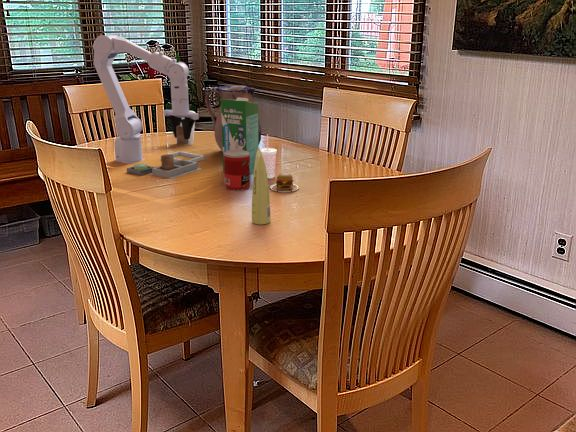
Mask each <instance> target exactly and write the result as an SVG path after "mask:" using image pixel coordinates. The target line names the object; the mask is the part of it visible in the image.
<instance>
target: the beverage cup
mask: <svg viewBox="0 0 576 432" xmlns="http://www.w3.org/2000/svg"><path fill="white" fill-rule="evenodd" d="M260 150H261V152H262V156H263V158H264V162H265V166H266V171H267V177H268V178H269V179H274V178H275V175H276V163H277V162H276V159H277V151H278V149H276V148H273V147H272V148H271V147H269V134H266V147H263V148H260ZM273 177H274V178H273Z"/></svg>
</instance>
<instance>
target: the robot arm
mask: <svg viewBox="0 0 576 432" xmlns="http://www.w3.org/2000/svg"><path fill="white" fill-rule="evenodd" d="M92 48H93V66H94V69H95V70H96V74H97V76H98V77H99V79H100V82H101V85H102V87H103V89H104V91H105V93H106V96H107V97H108V100H109V102H110V105H111V106H112V109H113V111H114V114H115V116H114V119H113V120H114V124H115V132H116V134H117V136H118V137H116V138H115V140H114V143H113V145H114V146H113V147H114V155H115V159H114V160H113V161H114V162H118V163H123V164H127V165H130V164H131V165H132V164H136V163H138V162H142V161H144V160H145V161H146V158H143V146H142V135H141V132H142V131H143V127H144V126H143V122H142V120H141V119H140V118H139V117H138V116H137V114H136V112H135V111H134V110H133V109H131V107H130V106H129V105H130V104H129V103H128V100H127V98H126V96H125V94H124V91H123V89H122V87H121V85H120V82H119V79H118V76H117V75H116V73H115V70H114V67H113V62H114V60H115V58H116V57H117V56H118V55H119V54H120V53H127V54H129V55H131V56H133V57H135V58H138V59H140V60H142V61H144V62H147V64H148V66H149V68H152V69H153V70H155V71H157V72H159V73H161V74H163V75H165V76H167V77H168V79H169V80H170V97H171V109H163V111H162V112H163V117H167V118H166V122H167V123H168V124H169V126H170V128H171V130H172V134H173V136H174V138H175V139H176V138H177V134H176V126H179V125H180V124H182V127H183V132H184V139H190V134H191V130H192V127H193V125H194V123H195V124H196V120H200V115H199V113H198V112H197V113H196V112H195V111H194V112H195V113H194V112H190V111H191V110H190V104H189V103H190V102H189V86H188V76H189V74H190V68H189V67H188V65H187V64H186V63H185V62H184V61H178V62H177V59H175V58H170V57H169V56H167V55H165V54H164V52H163V51H154V52H151V51H149V50H148V49H145V48H143V47H142V46H139V44H136V43H134V42H133V41H130V40H129V39H127V38H126V37H123V36H119V35H118V34H115V33H112V34H107V35H103V34H101V35H98V36H97V37H96V38H95V40H94V42H93V44H92ZM182 118H185V119H182Z"/></svg>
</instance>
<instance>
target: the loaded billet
mask: <svg viewBox="0 0 576 432" xmlns="http://www.w3.org/2000/svg"><path fill="white" fill-rule="evenodd" d="M174 158H175V157H174V156H173V155H171V153H168V154H166V153H165V154H161V155H160V161H161V163H160V164H161V166H162V170H166V171H169V170H173V169H174Z"/></svg>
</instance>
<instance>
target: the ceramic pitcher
mask: <svg viewBox="0 0 576 432" xmlns="http://www.w3.org/2000/svg"><path fill="white" fill-rule="evenodd" d="M255 91H256V89H255V88H254V87H251V86H250V87H249V86H247V85H226V86H212V87H210V88H209V89H207V91H206V92H205V93H204V94H205V95H204V103H205V106H206V108H207V111H208V114H209V116H210V118H211V120H212V123H213V127H212V129H213V132H214V140H215V142H216V145H217V146H218V148H219V149H220V150H221V151H222V152H223V148H222V117H221V105H220V106H219V109H218V113H217V115H216V114H215V111H214V109H213V107H212V105H211V101H210V100H211V99H210V95H211V94H212V93H217V94H219V96H220V98H221V99H230V100H237V98H247V99H248V102H252V103H255V98H254V97H255ZM258 130H259V145H260V143H261V140H262V128H261V123H260V119H259V117H258Z"/></svg>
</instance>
